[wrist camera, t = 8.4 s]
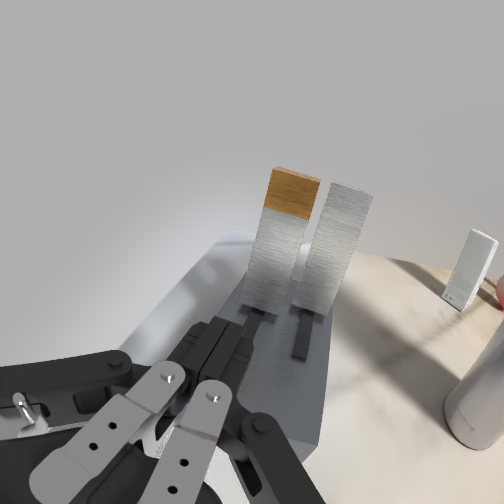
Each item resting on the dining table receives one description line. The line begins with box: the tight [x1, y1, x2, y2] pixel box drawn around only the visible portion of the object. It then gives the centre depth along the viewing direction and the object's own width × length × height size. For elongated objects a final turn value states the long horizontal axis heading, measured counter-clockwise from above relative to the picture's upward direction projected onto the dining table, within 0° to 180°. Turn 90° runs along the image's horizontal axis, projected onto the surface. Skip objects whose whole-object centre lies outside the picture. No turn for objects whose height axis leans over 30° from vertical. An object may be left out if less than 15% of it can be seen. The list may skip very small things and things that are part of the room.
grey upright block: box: [292, 179, 373, 316], centre depth 26 cm, size 2×4×12 cm, turn 74°
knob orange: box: [240, 167, 321, 315], centre depth 24 cm, size 2×4×12 cm, turn 74°
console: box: [173, 272, 333, 463], centre depth 25 cm, size 20×10×4 cm, turn 164°
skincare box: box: [442, 229, 499, 312], centre depth 45 cm, size 8×6×15 cm
